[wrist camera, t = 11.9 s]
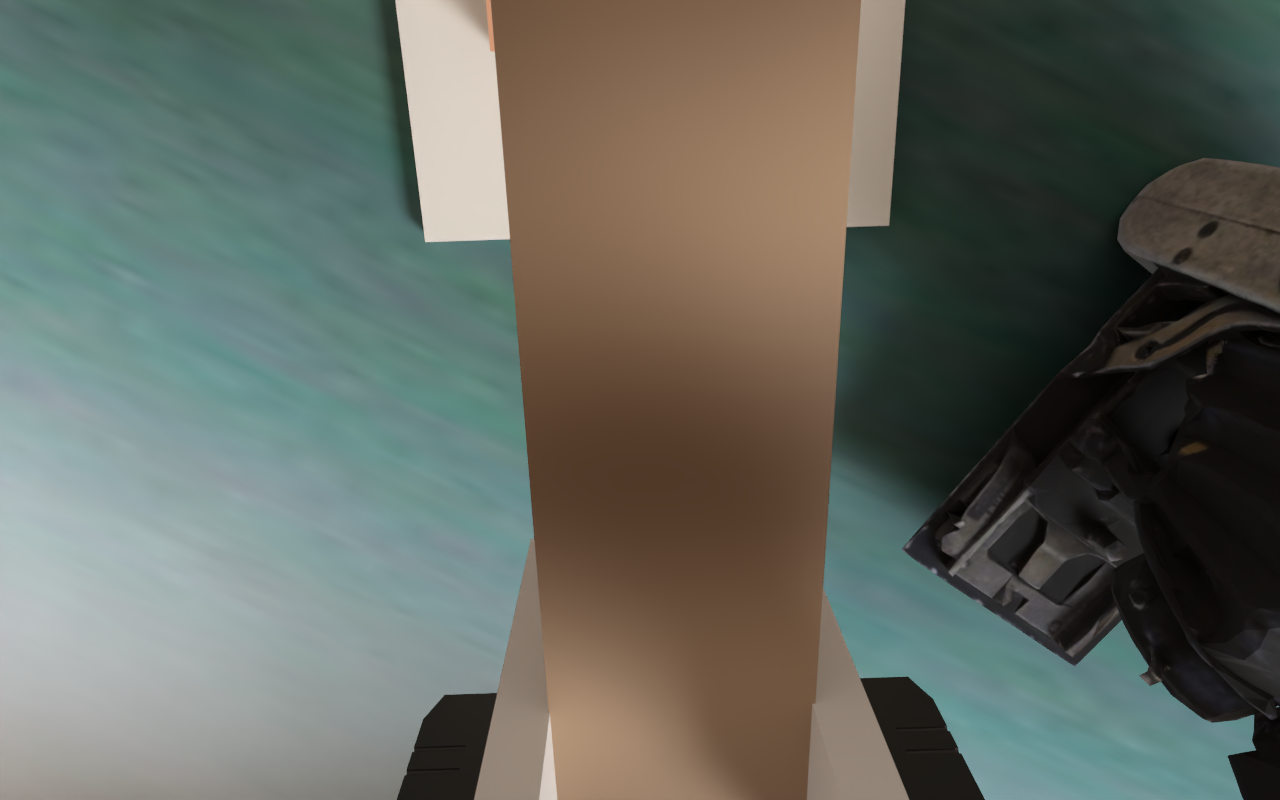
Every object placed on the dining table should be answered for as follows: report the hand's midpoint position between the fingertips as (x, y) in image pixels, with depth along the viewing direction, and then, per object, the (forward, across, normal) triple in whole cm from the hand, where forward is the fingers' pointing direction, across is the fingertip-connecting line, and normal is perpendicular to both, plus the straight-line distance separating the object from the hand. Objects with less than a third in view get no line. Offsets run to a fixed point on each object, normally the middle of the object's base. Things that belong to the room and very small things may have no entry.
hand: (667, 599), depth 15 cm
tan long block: (0, 0, -4) cm, 5 cm away
